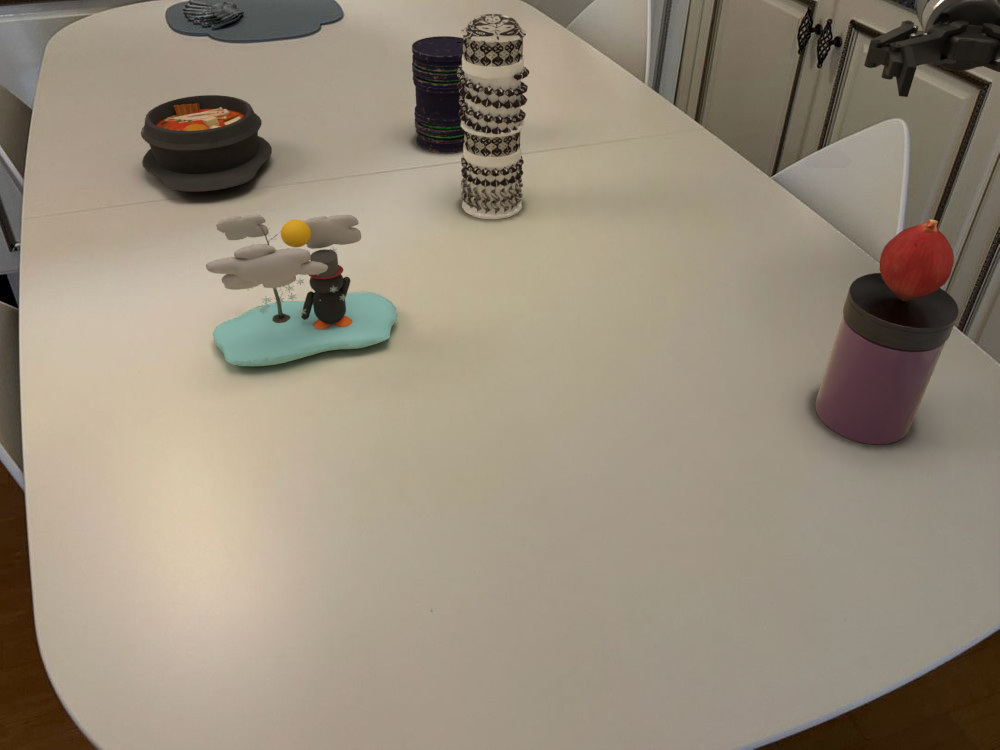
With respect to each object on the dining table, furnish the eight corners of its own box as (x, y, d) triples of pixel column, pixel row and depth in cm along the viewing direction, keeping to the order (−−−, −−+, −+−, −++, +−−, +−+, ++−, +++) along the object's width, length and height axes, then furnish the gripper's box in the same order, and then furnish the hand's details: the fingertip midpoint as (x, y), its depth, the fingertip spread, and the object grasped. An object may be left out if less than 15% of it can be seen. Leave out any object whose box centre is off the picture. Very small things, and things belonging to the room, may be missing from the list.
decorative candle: (501, 185, 125) (504, 5, 109) (537, 210, 119) (545, 23, 103) (447, 200, 121) (442, 15, 106) (481, 226, 115) (481, 34, 99)
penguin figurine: (390, 299, 100) (381, 179, 91) (408, 351, 92) (400, 226, 83) (214, 324, 96) (185, 201, 86) (216, 381, 88) (185, 252, 78)
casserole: (146, 141, 136) (132, 89, 131) (265, 129, 140) (257, 78, 135) (144, 211, 117) (128, 153, 112) (282, 194, 121) (273, 138, 116)
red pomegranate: (855, 287, 78) (880, 207, 73) (908, 277, 80) (936, 199, 75) (896, 321, 74) (926, 239, 69) (951, 311, 75) (984, 230, 70)
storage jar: (439, 158, 132) (436, 60, 123) (403, 138, 138) (398, 43, 129) (489, 143, 137) (490, 47, 128) (453, 124, 143) (451, 32, 134)
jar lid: (945, 304, 81) (953, 282, 79) (954, 359, 74) (964, 336, 72) (842, 286, 83) (849, 265, 81) (842, 339, 76) (849, 316, 74)
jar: (907, 396, 87) (950, 288, 79) (912, 453, 81) (960, 341, 73) (816, 378, 89) (848, 271, 81) (813, 433, 83) (849, 322, 75)
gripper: (851, -21, 93) (853, 33, 77) (1106, 0, 87) (1166, 62, 71) (833, 50, 98) (832, 114, 82) (1075, 74, 92) (1125, 148, 76)
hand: (988, 90), depth 77 cm, fingers open, 13 cm apart
